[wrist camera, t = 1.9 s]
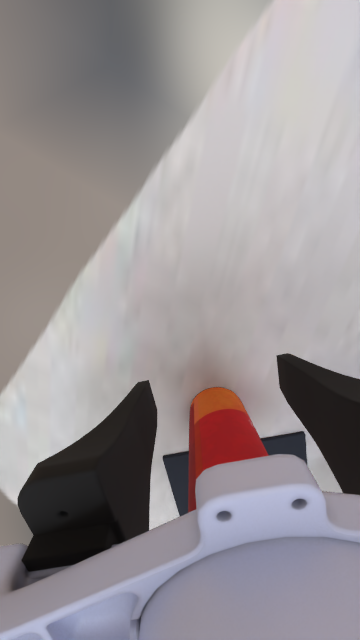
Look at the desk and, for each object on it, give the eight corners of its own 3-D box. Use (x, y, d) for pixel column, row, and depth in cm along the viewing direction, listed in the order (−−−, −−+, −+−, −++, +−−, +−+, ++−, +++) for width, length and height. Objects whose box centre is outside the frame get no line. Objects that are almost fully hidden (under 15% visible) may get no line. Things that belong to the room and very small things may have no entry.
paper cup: (224, 448, 28) (267, 633, 15) (166, 419, 27) (156, 594, 14) (267, 397, 26) (359, 560, 13) (206, 364, 25) (239, 506, 12)
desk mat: (303, 431, 28) (305, 434, 27) (311, 548, 34) (312, 551, 34) (162, 455, 29) (162, 458, 28) (195, 565, 35) (195, 569, 34)
